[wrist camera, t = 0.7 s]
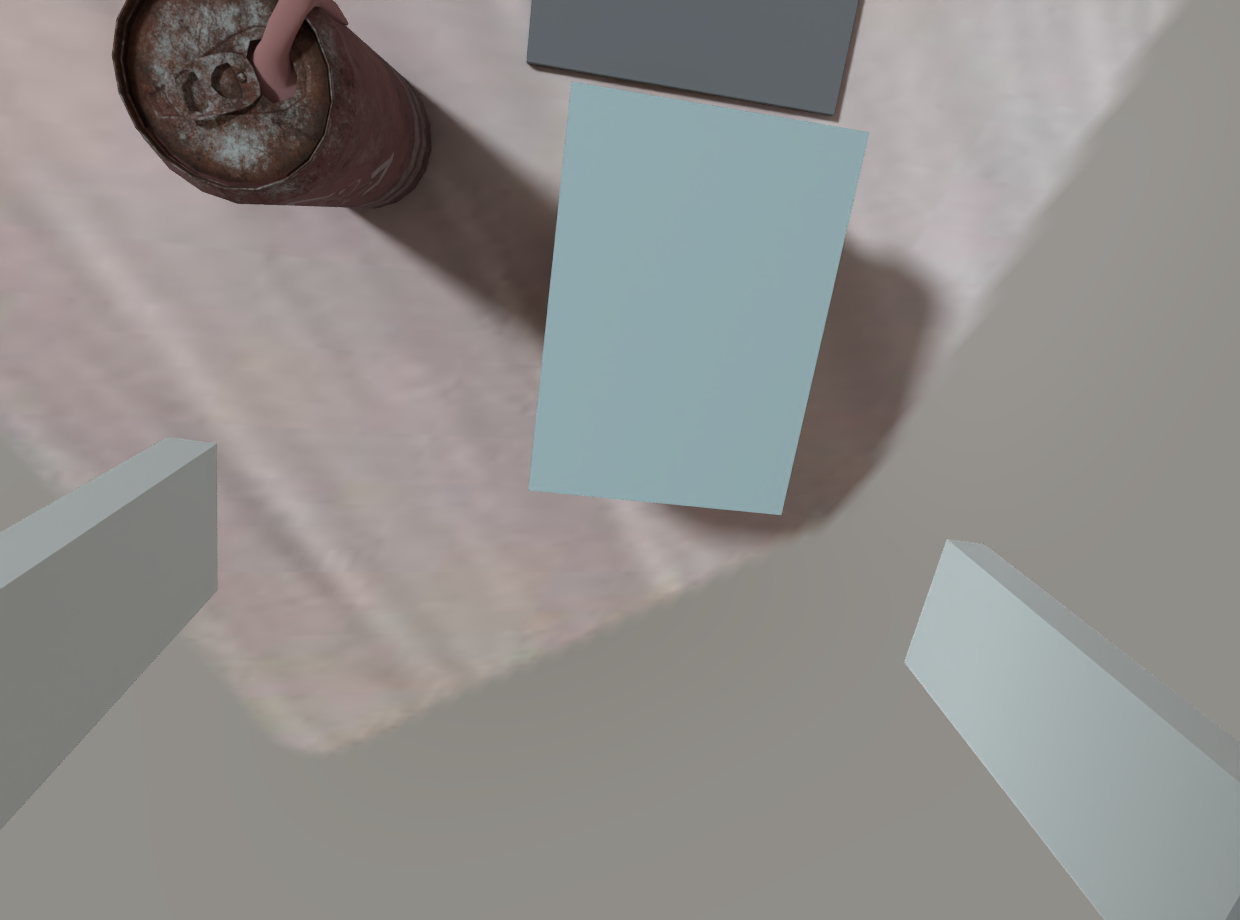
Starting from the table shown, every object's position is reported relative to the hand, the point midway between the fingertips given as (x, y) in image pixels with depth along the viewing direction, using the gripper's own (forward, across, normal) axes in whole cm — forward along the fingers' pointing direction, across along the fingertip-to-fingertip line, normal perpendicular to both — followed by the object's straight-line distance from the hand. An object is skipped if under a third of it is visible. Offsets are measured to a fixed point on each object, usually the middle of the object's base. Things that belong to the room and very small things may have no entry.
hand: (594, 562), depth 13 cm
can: (+24, -10, +8) cm, 27 cm away
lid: (+17, +4, +3) cm, 17 cm away
